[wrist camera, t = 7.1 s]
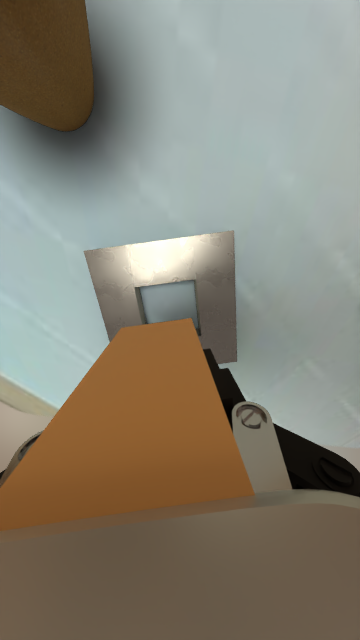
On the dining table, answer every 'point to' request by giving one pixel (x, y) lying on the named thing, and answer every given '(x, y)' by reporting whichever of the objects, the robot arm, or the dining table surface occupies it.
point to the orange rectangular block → (131, 436)
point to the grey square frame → (164, 267)
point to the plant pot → (46, 61)
